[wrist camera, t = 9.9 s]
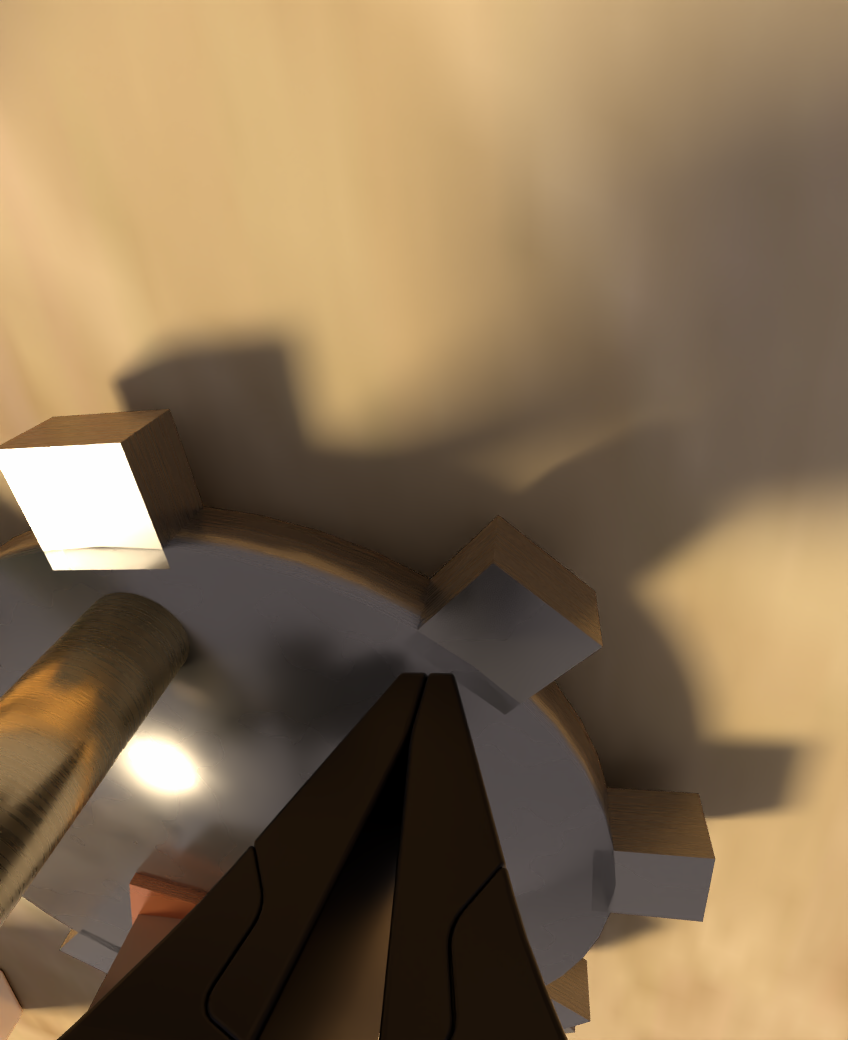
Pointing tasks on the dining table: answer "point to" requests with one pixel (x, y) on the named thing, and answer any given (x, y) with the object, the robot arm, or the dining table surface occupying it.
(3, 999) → the jar
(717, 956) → the dining table surface
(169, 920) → the link block
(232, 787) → the sprocket
